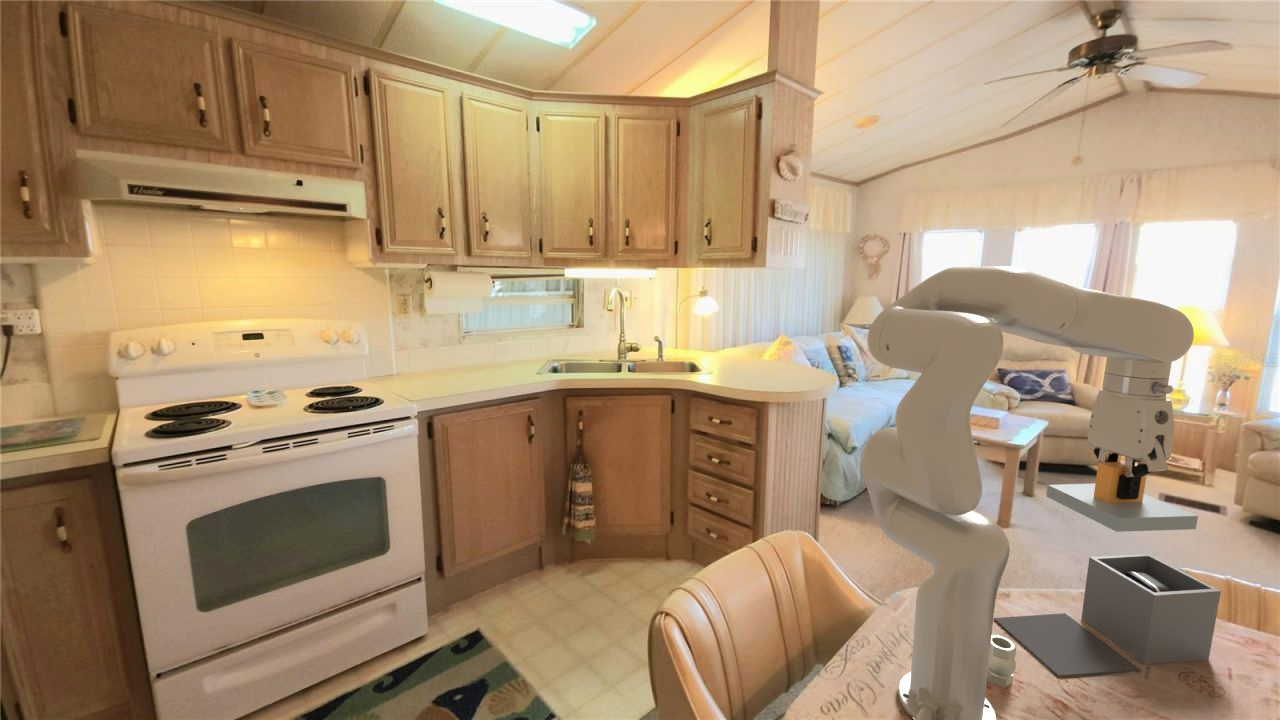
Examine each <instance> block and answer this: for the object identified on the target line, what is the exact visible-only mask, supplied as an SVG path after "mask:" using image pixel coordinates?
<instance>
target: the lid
mask: <svg viewBox="0 0 1280 720" xmlns="http://www.w3.org/2000/svg"><path fill="white" fill-rule="evenodd" d="M1137 463H1138V462H1135V466H1137ZM1124 464H1125V461H1120V462H1099V463H1098V462H1097V471H1096V477H1095V482H1094V483H1070V484H1069V483H1066V484H1065V483H1064V484H1062V483H1061V484H1047V489H1046V497H1047V498H1049V499H1050V500H1053V501H1055V502H1056V503H1058V504H1061V505H1062V506H1064V507H1066V508H1069V509H1070V510H1072V511H1073V512H1076V513H1078V514H1080V515H1083V516H1085V517H1086V518H1089V519H1090V520H1092V521H1095V523H1099V524H1101V526H1104V527H1106V528H1108V529H1110V530H1112V531H1114V532H1117V533H1121V532H1122V533H1123V532H1149V531H1150V532H1151V531H1180V530H1181V531H1183V530H1185V531H1186V530H1197V525H1198V519H1199V515H1197V514H1195V513H1192V512H1190V511H1188V510H1184V509H1182V508H1180V507H1177V506H1175V505H1172V504H1170V503H1168V502H1165V501H1163V500H1160V499H1157V498H1155V497H1152V496H1150V495H1147V494H1146V493H1145V486H1146V482H1147V481H1146V480H1147V476H1146V477H1141V483H1140V490H1139V496H1138V498H1137V499H1125V500H1121V499H1119V498H1117V490H1118V484H1119V477H1120V475H1124Z"/></svg>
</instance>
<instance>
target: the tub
mask: <svg viewBox="0 0 1280 720" xmlns="http://www.w3.org/2000/svg"><path fill="white" fill-rule="evenodd" d="M1087 566H1088V567H1087V573H1086V582H1085V589H1084V597H1083V601H1082V602H1083V604H1082V612H1081V620H1082V621H1083V622H1085V623H1086V624H1087V625H1089V626H1090V627H1092V629H1095V631H1096V632H1098V633H1100V634H1101V635H1102V634H1103V636H1104V637H1105V638H1106V639H1108V640H1109V641H1111V642H1112V643H1113V644H1115V645H1117V646H1118V647H1119V648H1120V649H1122V650H1123V651H1124V652H1126V653H1127V654H1128V655H1130V656H1131V657H1132V658H1134V659H1136V660H1137V661H1138V662H1140V663H1141V664H1142V665H1143V666H1146V665H1158V664H1170V663H1185V662H1198V661H1199V662H1200V661H1209V660H1210V653H1211V650H1212V649H1211V648H1212V643H1213V637H1214V633H1215V631H1214V630H1215V627H1216V626H1215V625H1216V621H1217V616H1218V615H1217V614H1218V610H1219V603H1220V599H1221V594H1222V591H1221V590H1219V589H1217V588H1216V587H1213V586H1212V585H1210V584H1209V583H1207V582H1204V581H1202V580H1200V579H1198V577H1197V578H1196V577H1195V576H1192V575H1190V574H1188V573H1187V572H1185V571H1183V570H1181V569H1179V568H1177V567H1175V566H1173V565H1171V564H1170V563H1167V562H1165V561H1164V560H1161V559H1160V558H1158V557H1156V556H1155V555H1152V554H1150V553H1136V554H1120V555H1118V554H1116V555H1105V556H1103V555H1101V556H1089V558H1088V565H1087ZM1126 572H1141V573H1146V574H1148V575H1150V576H1151V577H1153V578H1155V579H1156V580H1158V581H1159V582H1161V583H1162V584H1164V585H1165V586H1167V587H1168V588H1169V589H1170V590H1171V591H1169V592H1153V591H1151V590H1149V589H1148V588H1146V587H1144V586H1142V585H1141V584H1139V583H1137V582H1136V581H1134V580H1132V579H1130V578H1129V577H1127V576H1125V575H1123V574H1124V573H1126Z"/></svg>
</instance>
